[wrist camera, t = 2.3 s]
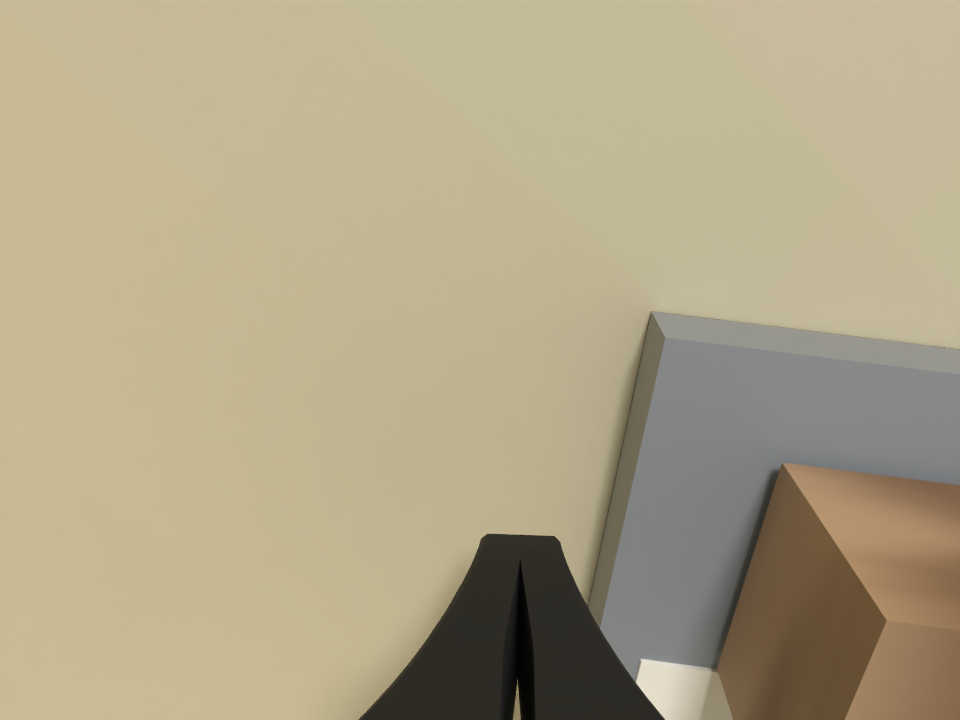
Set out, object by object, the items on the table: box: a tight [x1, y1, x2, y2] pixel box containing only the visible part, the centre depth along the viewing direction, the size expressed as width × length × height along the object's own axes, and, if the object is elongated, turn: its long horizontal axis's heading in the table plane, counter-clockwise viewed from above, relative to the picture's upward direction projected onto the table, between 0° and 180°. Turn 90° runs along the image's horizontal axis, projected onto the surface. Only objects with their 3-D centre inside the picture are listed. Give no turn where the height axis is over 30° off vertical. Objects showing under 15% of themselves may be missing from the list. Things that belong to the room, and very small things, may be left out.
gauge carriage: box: [717, 463, 960, 720], centre depth 12 cm, size 5×7×4 cm
